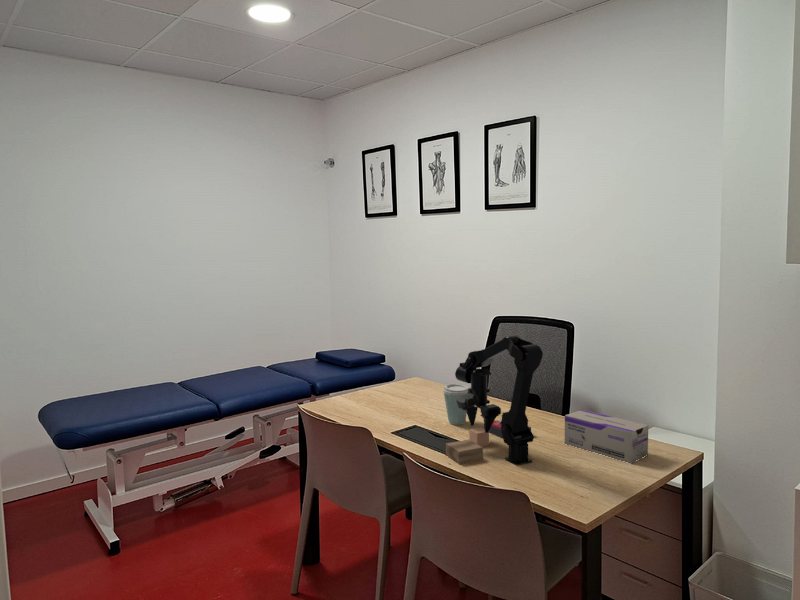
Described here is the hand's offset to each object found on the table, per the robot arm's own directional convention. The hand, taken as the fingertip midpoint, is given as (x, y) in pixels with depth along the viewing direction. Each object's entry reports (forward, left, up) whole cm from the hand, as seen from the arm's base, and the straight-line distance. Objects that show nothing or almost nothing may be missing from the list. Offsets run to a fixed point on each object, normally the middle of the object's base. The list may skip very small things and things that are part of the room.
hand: (479, 429), depth 209 cm
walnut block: (-9, +12, -6) cm, 16 cm away
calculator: (+5, -16, -6) cm, 18 cm away
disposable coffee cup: (+25, -6, -6) cm, 26 cm away
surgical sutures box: (-26, -34, -6) cm, 43 cm away
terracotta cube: (0, 0, -6) cm, 6 cm away
